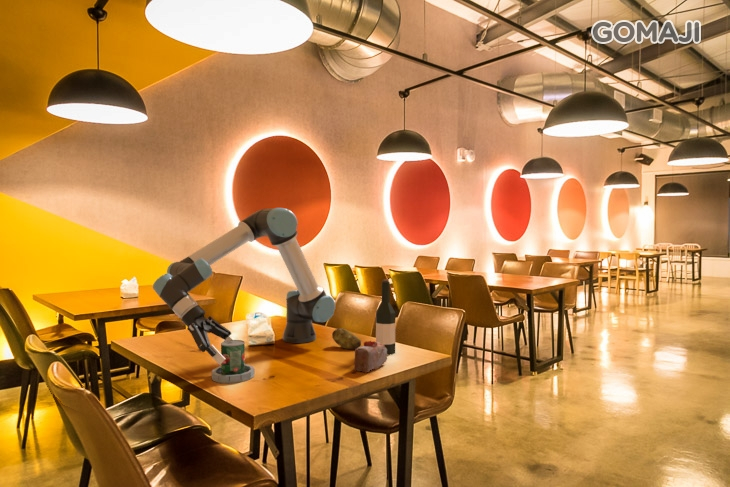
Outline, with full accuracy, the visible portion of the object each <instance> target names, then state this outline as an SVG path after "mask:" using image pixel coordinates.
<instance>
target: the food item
mask: <svg viewBox="0 0 730 487" xmlns="http://www.w3.org/2000/svg"><path fill="white" fill-rule="evenodd" d="M387 360H388V355H387V349H386V347H385V346H384V345H383V344H382V343H379V342H376V340H375V341H374V340H373V341H372V340H368V341H367V340H366V341H365V342H363V346H362V345H361V346H360V347H359V348H357V349H354V363H353V364H354V367H353V369H354V371H356V370H357V371H356V372H360V371H362V372H361V373H365V372H368V373H369V372H371V371H373V370H378V369H380V367H381V366H383V365H385V363H386V362H387ZM377 368H378V369H377ZM372 369H373V370H372ZM370 370H371V371H370Z"/></svg>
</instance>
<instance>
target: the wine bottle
mask: <svg viewBox="0 0 730 487" xmlns="http://www.w3.org/2000/svg"><path fill="white" fill-rule="evenodd" d="M390 283H391V282H390V281H389V279H383V280H382V281H381V302H380V304H379V306H377V307H378V308H377V309H376V311H375V342H379V343H382V344H383V345H384V346H385V347H386V349H387V354H391V355H393V354H396V311H395V310H394V308H393V306H392V304H391V300H390V298H391V295H390V294H391V292H390V290H391V289H390V286H391V284H390Z"/></svg>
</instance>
